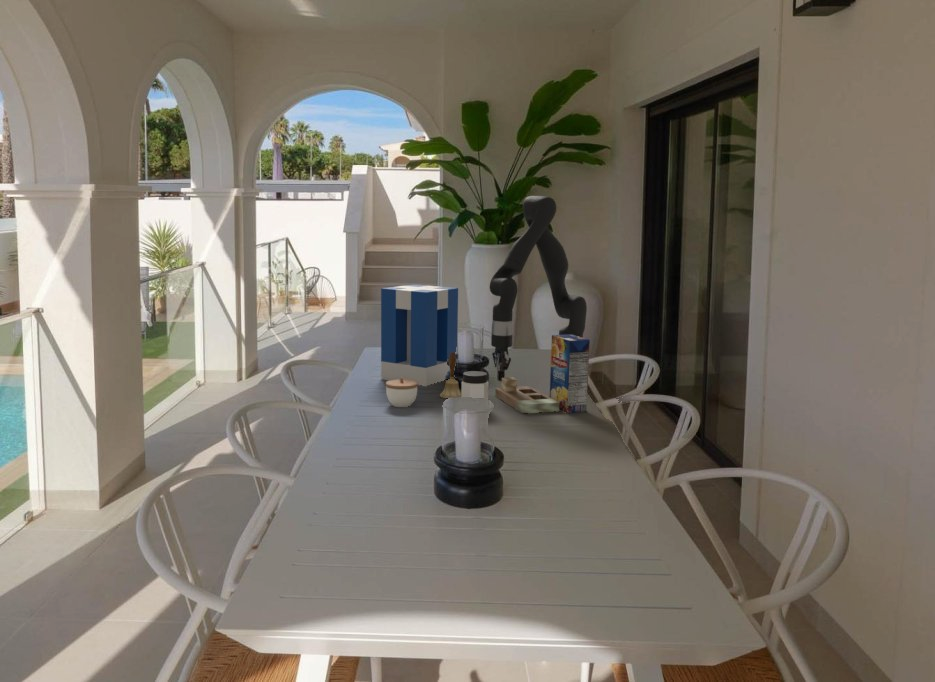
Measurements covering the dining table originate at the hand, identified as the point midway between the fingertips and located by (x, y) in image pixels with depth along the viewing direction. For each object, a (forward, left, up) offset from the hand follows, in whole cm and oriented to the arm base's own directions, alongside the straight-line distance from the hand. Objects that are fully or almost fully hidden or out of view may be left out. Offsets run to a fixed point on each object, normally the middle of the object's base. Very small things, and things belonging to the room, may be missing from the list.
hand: (500, 380), depth 285 cm
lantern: (+21, -32, -5) cm, 39 cm away
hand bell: (+18, 0, -5) cm, 19 cm away
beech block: (0, +8, -2) cm, 8 cm away
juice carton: (-14, +26, -5) cm, 30 cm away
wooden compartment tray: (-3, +16, -5) cm, 17 cm away
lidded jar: (+38, +8, -5) cm, 40 cm away
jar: (+16, +19, -5) cm, 25 cm away
